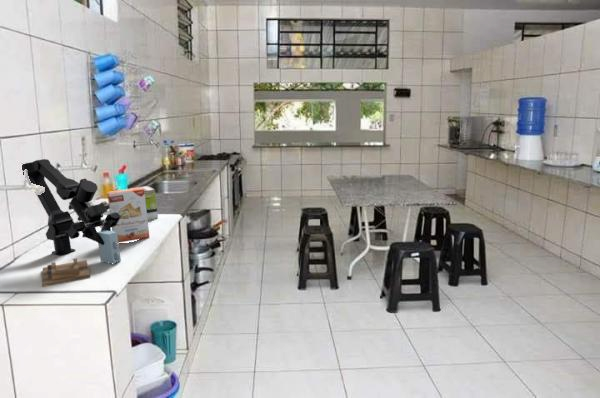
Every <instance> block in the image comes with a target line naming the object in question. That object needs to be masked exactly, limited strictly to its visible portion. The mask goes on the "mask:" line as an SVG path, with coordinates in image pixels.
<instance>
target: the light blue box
mask: <svg viewBox="0 0 600 398" xmlns="http://www.w3.org/2000/svg"><path fill="white" fill-rule="evenodd" d="M97 232H98V234H99V235H100V236H101V238H102V239H103V241H104V245H102V244H100V243H98V242H97V243H98V250H99V258H100V262H101V261H103V262H102V263H104V262H109V263H113V264H112V265H115V264H114V263H116V262H118V261H121V262H122V258H121V251H120V242H119V243H118V236H117V232H114V231H112V230H111V231H107V230H103V231H101V230H100V231H97ZM109 263H108V264H109ZM116 264H117V263H116Z"/></svg>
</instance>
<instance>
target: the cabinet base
mask: <svg viewBox="0 0 600 398" xmlns="http://www.w3.org/2000/svg"><path fill="white" fill-rule="evenodd" d="M41 273H42V276H41V287H42V288H43V287H47V286H53V285H58V284H64V283H69V282H72V281H78V280H83V279H88V278H89V279H90V278H91V273H90V269H89V265H88V262H87V259H83V260H78V258H72V262H68V263H67V262H65V263H61V264H56V262H55V261H54V262H51V264H47V266H45V267H42V272H41Z"/></svg>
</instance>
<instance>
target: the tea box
mask: <svg viewBox="0 0 600 398" xmlns="http://www.w3.org/2000/svg"><path fill="white" fill-rule="evenodd" d="M135 188H142V189H144V194H145V202H146V211H147V220H148V221H150V220H155V219H158V218H159V215H158V214H159V213H158V206H157V205H158V204H157V195H156V194H157V193H156V189H155V188H153V187H151V186H148V185H147V186H146V185H145V186H137V187H130V188H129V189H135Z"/></svg>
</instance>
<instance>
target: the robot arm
mask: <svg viewBox="0 0 600 398" xmlns="http://www.w3.org/2000/svg"><path fill="white" fill-rule="evenodd" d="M22 164H23V163H22ZM25 169H27V170H28V176H29V179H30V181H31V183H33V184H36V185H40V186H43V187H45V192H44V193H42V194H41V195H37V194H36V192H35V191H34V192H35V194H36V197H37V198H38V200H39V202H40V203H41V205H42V207H43V209H44V211H45V213H46V214H47V216H48V217H47V218H48V219H47V226H48V228H47V231H46V233H45V237H46V239H47V240H51V241H53V247H54V251H51V252H52V253H51V254H53V253H54V254H53V255H56V254H57V256H62V255H65V254H69V253H72V252H76V249H74V248H72V246H71V240H74V239H77V238H79V237H80V232H82V238H86V239H89V240H91V241H93V242H96V243H100V244H102V245H104V241H103V239H102V238H101V236H100V235H99V234H98V232H99V231H97V229H96V228H98V227H99V228H100V231H103V230H107V231H112V227H114V226H116V225H117V223H118V221H119V220H120V218H121V216H120V215H119V213H117V212H115V213H111V214H110V213H108V214H107V215H106V217H105V218H103V217H104V214H105V213H107V212H108V211H109V209H110V206H109V204H108V202H107V200H106V201H101V202H100V203H97V204H94V205H92V204H91V203H90V202H91V201H92V200H93V199H94V197H95V195H96V193H97V191H98V185H97V184H96V183H95V182H94V181H91V180H88V179H87V178H82V179H80V180H79V181H76V180H74V179H72V178H68V177H66V176H65V175H64V174H62V173H61V172H60V171H59V170H58V169H57V168H56V167H55V166H54V165H53V164H52V163H51V162H50V160H49V159H48V158H47V159H46V158H42V159H35V160H34V161H31V162H25V164H23V165H22V170H23V171H24V170H25ZM23 175H24V172H23ZM45 180H47V181H49V183H51V184H52V185H53V186H54V187H55V189H56V191H55V193H56V194H57V195H58V196H59V198H60V199H61V200H63V201H66V200H67V201H68V200H70V201H69V203H68V210H69V211H70V210H73V211H74V212H75V214H76V215H77V220H78V222H75V221H74V219H73V218H72V216H71V214H70V212H69V211H63V210H62V209H61V207H60V206H59V204H58V202H57V200H56V198H55V197H54V194H53V193H52V191H51V189H50V187H49V186H48V184H47V182H46V181H45Z"/></svg>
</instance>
